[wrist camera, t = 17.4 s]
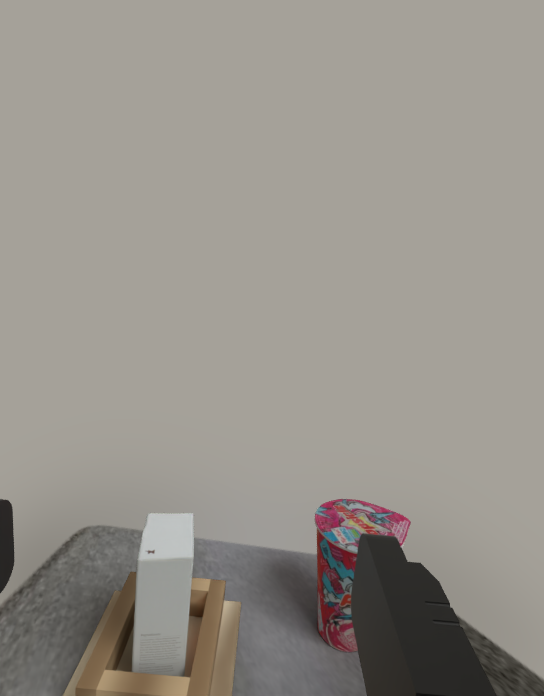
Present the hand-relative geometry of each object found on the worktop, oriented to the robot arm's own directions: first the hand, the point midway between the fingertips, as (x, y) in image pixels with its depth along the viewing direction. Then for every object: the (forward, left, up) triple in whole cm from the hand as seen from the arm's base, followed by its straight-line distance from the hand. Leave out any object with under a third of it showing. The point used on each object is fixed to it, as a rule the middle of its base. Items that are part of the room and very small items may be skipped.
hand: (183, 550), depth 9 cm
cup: (-19, -23, -29) cm, 41 cm away
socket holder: (-1, -22, -29) cm, 36 cm away
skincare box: (-1, -22, -28) cm, 35 cm away
